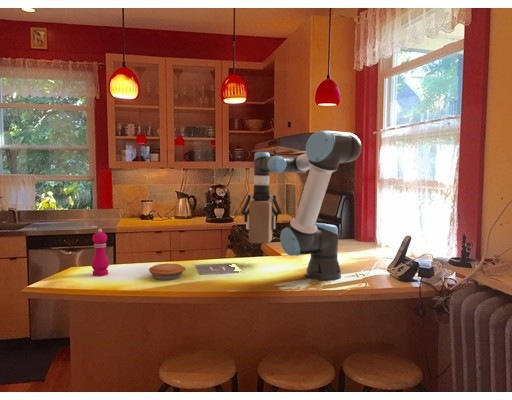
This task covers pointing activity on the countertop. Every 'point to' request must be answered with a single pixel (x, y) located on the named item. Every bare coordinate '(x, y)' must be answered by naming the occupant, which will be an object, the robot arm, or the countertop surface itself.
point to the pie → (167, 271)
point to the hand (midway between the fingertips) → (260, 228)
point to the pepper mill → (100, 254)
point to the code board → (215, 268)
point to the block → (260, 221)
